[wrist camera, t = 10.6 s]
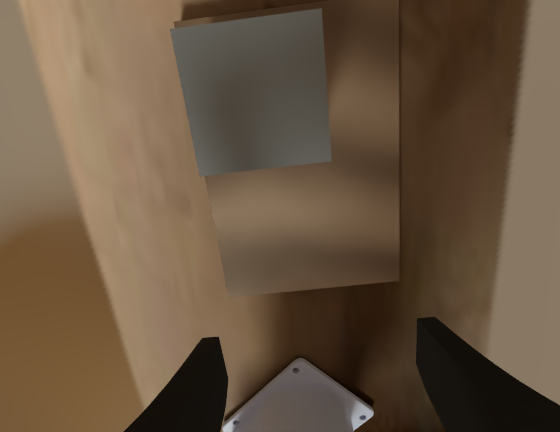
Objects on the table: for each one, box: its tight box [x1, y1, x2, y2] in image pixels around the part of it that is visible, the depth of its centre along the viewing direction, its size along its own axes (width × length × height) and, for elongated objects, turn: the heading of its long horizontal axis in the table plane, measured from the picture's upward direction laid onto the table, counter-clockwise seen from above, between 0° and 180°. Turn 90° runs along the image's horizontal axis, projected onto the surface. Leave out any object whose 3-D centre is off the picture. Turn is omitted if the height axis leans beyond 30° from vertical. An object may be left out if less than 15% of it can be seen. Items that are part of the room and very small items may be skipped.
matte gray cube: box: [170, 8, 332, 176], centre depth 15 cm, size 5×5×6 cm
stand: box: [174, 0, 400, 298], centre depth 18 cm, size 16×11×5 cm
